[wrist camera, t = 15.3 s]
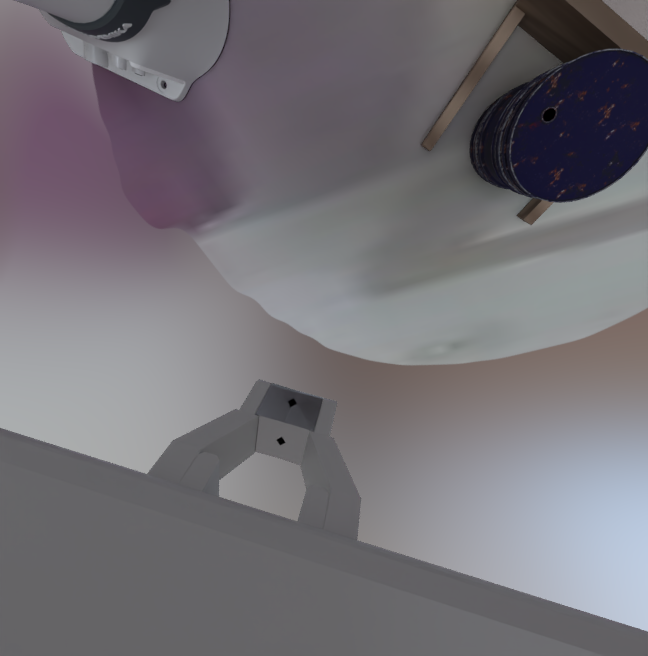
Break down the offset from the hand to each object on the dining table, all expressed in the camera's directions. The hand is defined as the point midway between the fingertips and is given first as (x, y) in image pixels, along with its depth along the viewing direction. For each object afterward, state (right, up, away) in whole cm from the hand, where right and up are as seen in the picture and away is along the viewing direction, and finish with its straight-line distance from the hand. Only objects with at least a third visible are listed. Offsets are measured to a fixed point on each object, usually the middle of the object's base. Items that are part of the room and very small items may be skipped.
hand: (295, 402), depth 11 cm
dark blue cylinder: (+23, +25, +25) cm, 42 cm away
